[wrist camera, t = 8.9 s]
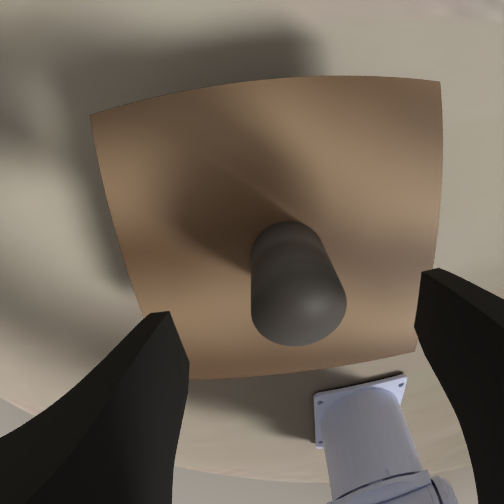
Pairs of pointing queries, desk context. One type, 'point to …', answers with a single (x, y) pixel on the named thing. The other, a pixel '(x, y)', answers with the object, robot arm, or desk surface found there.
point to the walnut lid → (278, 216)
